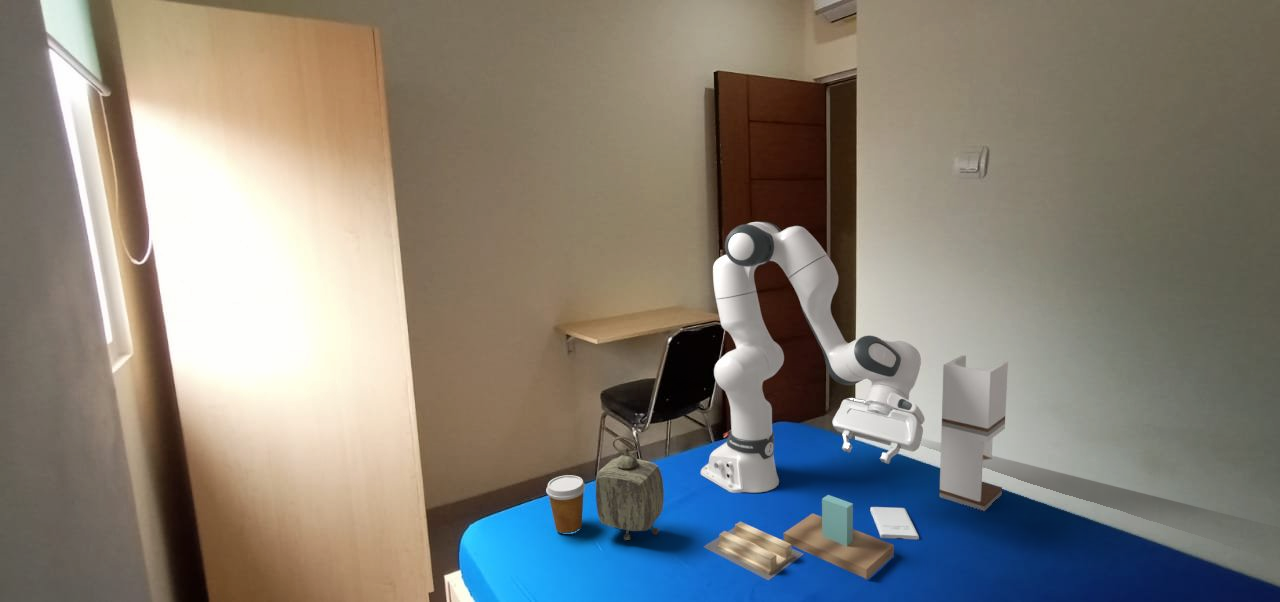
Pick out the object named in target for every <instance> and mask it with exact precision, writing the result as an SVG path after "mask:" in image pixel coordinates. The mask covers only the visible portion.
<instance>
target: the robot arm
mask: <svg viewBox="0 0 1280 602" xmlns="http://www.w3.org/2000/svg"><path fill="white" fill-rule="evenodd" d="M724 252H725V254H724V255H722V256H720V257H718V258H717V259H716V260H715V261H714V263H713V265H712V266H713V267H712V278H713V279H712V280H713V290H714V296H715V302H716V307H717V311H718V316H719V322H720V325H721V328H722V330H723V329H724V331H726V332H728V334H729V335H730V337H731V338H732V340H733V343H734V344H735V348H734V349H732V350H730V351H728V352H726V353H725V354H724V355H723V356H721V358H719V359H718V360H717V362H716V363H715V364H714V368H713V376H714V379H715V382H716V384H717V385H718V386H719V388H721V390H723V391H724V392H725V395H726V396H727V399H728V403H729V404H728V405H729V407H730V425H731V426H730V427H731V429H729V431H727V432H725V433H723V438H724V439H725V438H727V439H726V442H724V443H722V444H721V445H720V446H718V447H717V448H715V449H713V451H712V452H711V453H710V455H709V459H708V463H706V464H705V465H704V466H703V467H702V468H701V469H700V475H701V476H702V477H704V478H706V479H708V480H709V481H710V482H712V483H714V484H716V485H717V486H719V487H721V488H723V489H724V490H726V491H727V492H729V493H734V494H735V493H737V494H738V493H756V494H757V493H763V492H769V491H772V490H774V489H776V488H777V486H779V483H780V479H779V476H778V473H777V469H776V468H777V467H776V461H775V458H774V456H775V455H774V451H775V434H774V431H773V408H772V404H771V403H770V402H769V401H768V400H767V399H766V397H765V394H764V391H763V383H764V381H766V380H768V379H770V378H772V377H773V376H775V375H776V374H777V373H778V372H779V370H780V369H781V367H782V366H783V365H784V361H785V355H784V354H785V353H784V351H783V349H782V347H781V346H780V345H779V344H778V342H776V341H774V339H773V338H772V336H771V334H770V333H769V331H768V329H767V327H766V324H765V322H764V319H763V316H762V311H761V307H760V301H759V297H758V292H757V287H756V283H755V271H756V269H757V268H760V267H761V266H764V265H765V264H767V263H769V262H774V263H776V264H778V266H779V267H780V268H781V269H782V271H783V272H784V274H785V276H786V277H787V279H788V281H789V282H790V284H791V285H792V288H794V291H795V293H796V295H797V297H798V300H799V302H800V307H801V310H802V313H803V315H804V318H805V319H806V321H807V324H808V325H809V328H810V329H811V331H812V333H813V335H814V337H815V340H816V341H817V343H818V345H819V347H820V349H821V350H822V354H823V357H824V361H825V365H826V369H827V372H828V374H829V375H830V377H831V378H832V380H834V381H835V382H836V383H838V384H840V385H844V386H854V385H857V384H859V383H860V382H861V381H863V380H866V379H867V380H869V381H870V382H871V385H870V389H869V390H868V393H867V395H866V399H862V398H856V397H854V396H853V397H852V396H849V397H848V398H845V399H843V400H842V401H841V404H840V407H839V408H838V410H837V411H836V413H835V415H834V417H833V418H832V426H833V428H834V429H835V430H836V431H837V432H838V433H841V434H842V438H843V444H842V447H841V449H842V451H843V452H847V453H851V451H852V449H853V445H852V444H851V443H850V440H851V439H852V438H853V437H856V438H860V439H865V440H868V441H871V442H875V443H879V444H883V445H886V446H890V449H889V450H888V451H887V452H882V453H881V456H880V458H879V459H880V462H882V463H885V464H888V465H889V464H890V463H891V460H892V458H893V457H894V456H896V455H897V454H899V452H900V450H902V449H903V450H906V451H909V452H912V453H913V452H915V451H916V450H918V449H919V448H920V445H921V443H922V439H923V434H924V428H923V424H924V423H925V416H924V414H923V412H922V410H921V409H920V407H919V406H918V405H917V404H916V403H914V402H912V401H910V392H911V391H912V389H913V388H914V386H915V384H916V382H917V379H918V376H919V373H920V370H921V369H920V368H921V364H922V358H921V353H920V352H919V350H918V349H917V348H916V347H915V346H913V345H912V344H910V343H908V342H906V341H903V340H896V341H895V340H894V341H888V340H884V339H881V338H880V337H877V336H875V335H864V336H861V337H859V338H856V339H854V340H853V341H851V342H848V341H846V340H845V338H844V336H843V334H842V332H841V330H840V328H839V327H838V325H837V323H836V321H835V319H834V316H833V315H832V310H831V309H832V308H831V306H832V305H831V304H832V300H833V297H834V295H835V293H836V291H837V289H838V286H839V274H838V271H837V269H836V267H835V265H834V263H833V262H832V260H831V259H830V257H829V255H828V254H827V252H826V251H825V250H824V248H823V247H822V245H821V244H820V243H819V242H818V240H817V239H816V238H815V236H813V235H812V234H811V233H810V232H809V230H807V229H806V228H805V227H803V226H799V225H794V226H789V227H786V228H785V229H783V230H781V229H780V228H779V227H778V225H776V224H774V223H771V222H768V221H754V222H753V221H752V222H749V223H746V224H740V225H737V226H736V227H734V228H733V229H732V230H731V231H730V232H729V233H728V235H726V238H725V242H724ZM849 439H850V440H849Z"/></svg>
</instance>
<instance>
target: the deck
mask: <svg viewBox="0 0 1280 602" xmlns="http://www.w3.org/2000/svg"><path fill="white" fill-rule="evenodd" d="M783 541H785V542H787V543H790V544H791V547H795V548H797V549H798V550H801V551H803V552H806V553H808V554H810V555H812V556H814V557H817V558H819V559H821V560H824V561H825V562H828V563H831V564H832V565H834V566H837V567H839V568H841V569H843V570H846V571H848V572H850V573H852V574H854V575H857V576H859V577H862V578H864V579H865V581H867V580H869V579H870V578H871V577H872V576H873V575H875V573H877V571H879V570H880V569H881V568H882V567H883V566H884V565H885V564H886V563H887V562H888V561H890V560H891V559H892V558H893V557H894V556H895V555H894V553H895V551H894V550H895V546H894V544H892V543H890V542H887V541H884V540H883V539H882V540H881V538H880V539H879V538H878V537H874V536H872V535H869V534H867V533H864V532H861V531H859V530H856V529H854V528H853V542H852V543H850V544H849V545H848V546H845V545H842V544H840V543H837V542H835V541H833V540H830V539H828V538H825V537H823V536H822V515H819V514H815V513H813V512H812V513H811V514H809V515H808V516H806V517H805V518H804V519H801V520H800V521H799V522H797V523H796V524H795V525H793V526H792V527H789V529H787V530H786V531H785V532H783Z"/></svg>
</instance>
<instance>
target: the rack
mask: <svg viewBox="0 0 1280 602" xmlns="http://www.w3.org/2000/svg"><path fill="white" fill-rule="evenodd" d="M734 528H735V535H733V534H731V533H729V532H728V531H726V530H723V531H722V532H721V533H719V535H718V537H719V540H720V545H718V546H717V547H718V550H720V551H722V552H724V553H726V554H728V555H730V556H732V557H734V558H736V559H738V560H740V561H742V562H744V563H746V564H748V565H750V566H752V567H754V568H756V569H758V570H760V571H762V572H764V573H766V574H768V575H770V574H771V573H772V572H774V571H775V570H776V569H778V568H779V567H780V566H782V565H783V564H785V563H786V562H787V561H789V560H790V559H791V558H793V557H794V553H792V550H791V548H792V545H791V544H790V543H787V542H785V541H784V539H780V538H778V537H776V536H774V535H771V534H769V533H767V532H765V531H763V530H760V529H758V528H756V527H754V526H751V525H749V524H747V523H745V522H742V521H739V522H737V523H735V524H734Z"/></svg>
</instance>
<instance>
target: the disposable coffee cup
mask: <svg viewBox="0 0 1280 602" xmlns="http://www.w3.org/2000/svg"><path fill="white" fill-rule="evenodd" d="M585 489H586V484H585V483H584V480H583V479H582V477H580V476H577V475H574V474H573V475H572V474H571V475H570V474H569V475H568V474H565V475H561V476H557V477H554V478H552V479H551V480H550V481H549V482H548V483H547V487H546V490H545V491H546V494H547V496H548V498H549V499H548V500H549V503H550V507H551V512H552V516H553V521H554V526H555V527H554V528H555V531H556V530H557V531H558V532H561V533H571V532H575V531H577V530H578V529H580V528H581V526H582V527H583V524H582V523H583V512H584V511H583V509H584V507H583V506H584V492H585ZM581 529H582V528H581ZM557 531H556V532H557Z"/></svg>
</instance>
